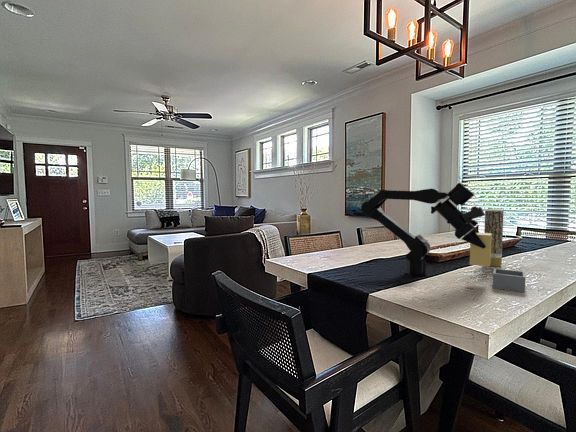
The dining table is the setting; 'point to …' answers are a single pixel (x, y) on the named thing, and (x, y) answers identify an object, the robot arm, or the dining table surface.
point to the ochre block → (481, 251)
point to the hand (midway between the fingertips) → (485, 246)
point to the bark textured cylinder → (495, 234)
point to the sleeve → (509, 280)
